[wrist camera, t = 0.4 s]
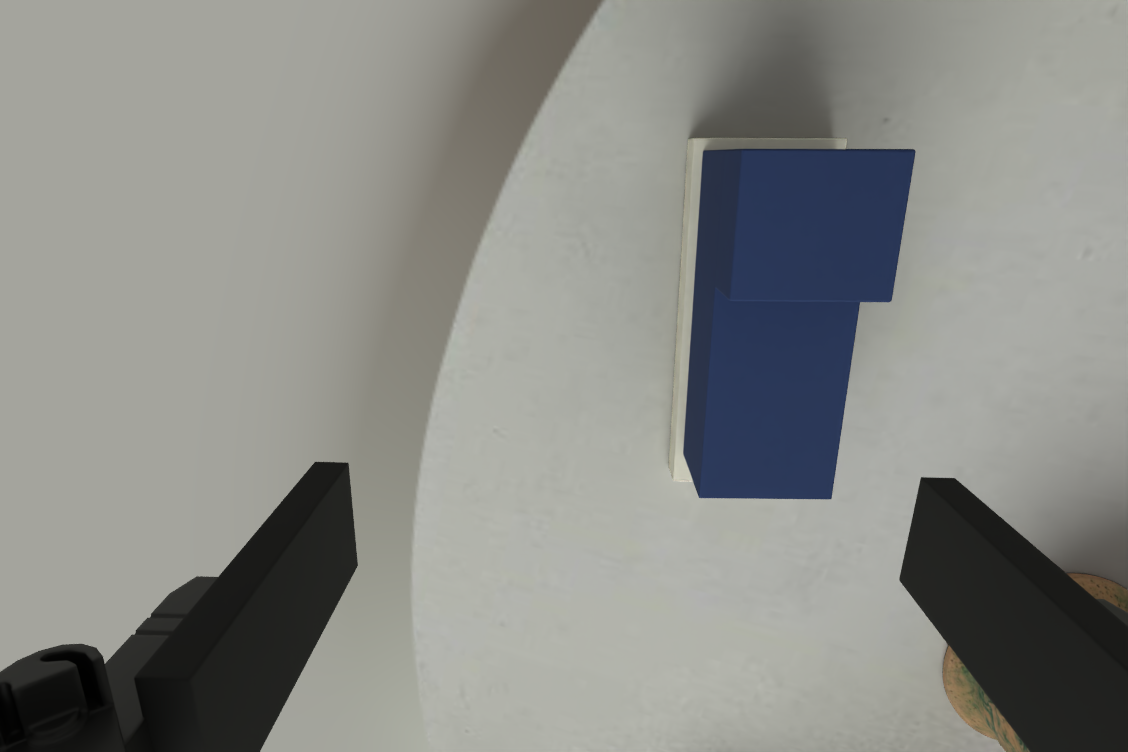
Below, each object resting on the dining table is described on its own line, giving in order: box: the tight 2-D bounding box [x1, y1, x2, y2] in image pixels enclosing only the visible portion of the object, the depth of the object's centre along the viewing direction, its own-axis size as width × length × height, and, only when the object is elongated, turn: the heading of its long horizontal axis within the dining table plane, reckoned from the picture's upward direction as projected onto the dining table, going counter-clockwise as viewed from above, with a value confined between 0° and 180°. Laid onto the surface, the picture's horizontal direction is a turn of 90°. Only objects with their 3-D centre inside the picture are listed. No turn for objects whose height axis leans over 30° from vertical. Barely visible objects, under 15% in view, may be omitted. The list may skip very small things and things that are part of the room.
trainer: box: [669, 138, 915, 499], centre depth 28 cm, size 16×6×8 cm, turn 0°
